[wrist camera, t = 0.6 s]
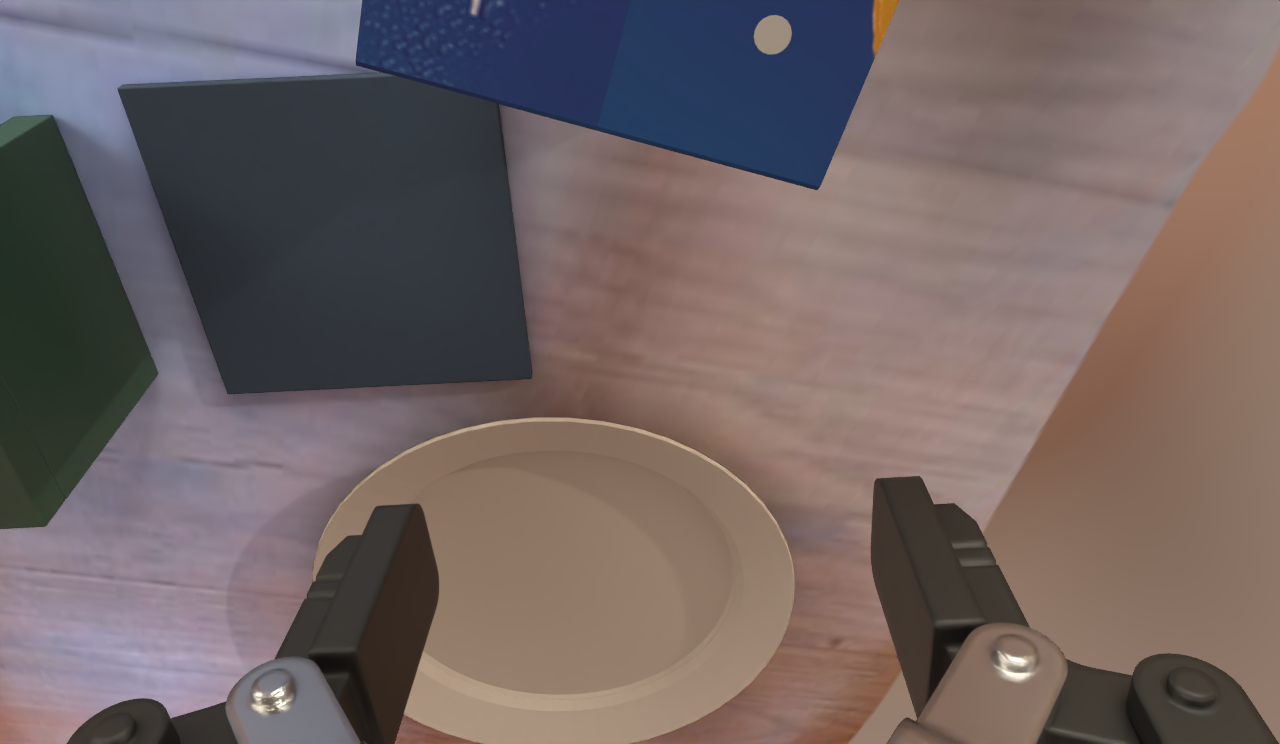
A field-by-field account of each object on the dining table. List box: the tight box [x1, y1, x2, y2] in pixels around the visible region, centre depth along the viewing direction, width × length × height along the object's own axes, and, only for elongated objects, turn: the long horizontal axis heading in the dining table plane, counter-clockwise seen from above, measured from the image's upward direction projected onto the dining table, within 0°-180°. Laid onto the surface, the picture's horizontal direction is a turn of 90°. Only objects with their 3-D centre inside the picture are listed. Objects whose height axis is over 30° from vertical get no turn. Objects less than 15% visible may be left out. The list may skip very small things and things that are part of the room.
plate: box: [312, 418, 795, 744], centre depth 48 cm, size 26×26×2 cm
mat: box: [118, 73, 532, 394], centre depth 37 cm, size 14×14×1 cm
